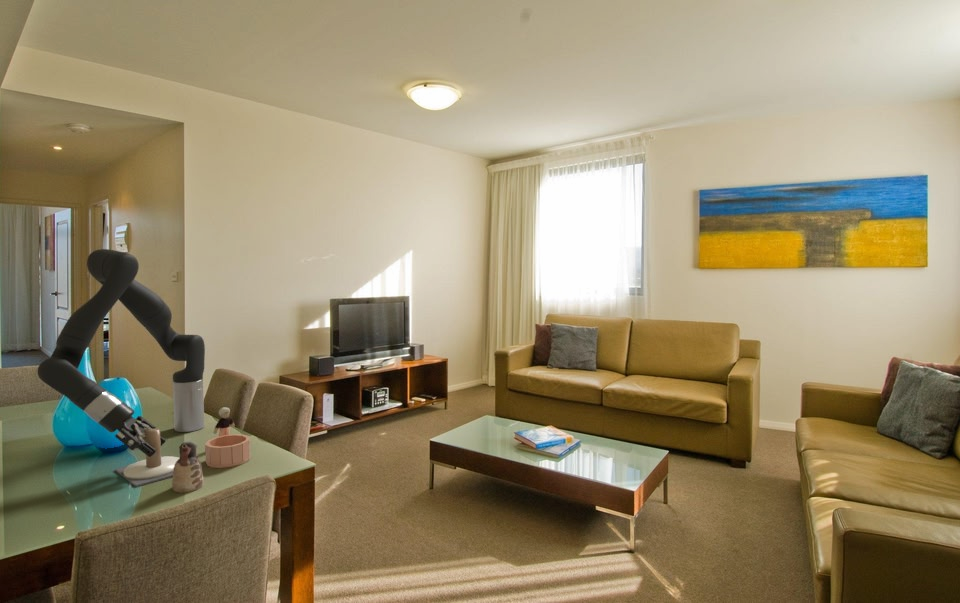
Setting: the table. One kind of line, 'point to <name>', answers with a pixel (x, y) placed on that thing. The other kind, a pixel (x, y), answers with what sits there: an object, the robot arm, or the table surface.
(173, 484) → the figurine
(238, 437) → the bowl
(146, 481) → the mat
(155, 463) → the cover
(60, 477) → the table surface
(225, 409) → the grandmother figurine
